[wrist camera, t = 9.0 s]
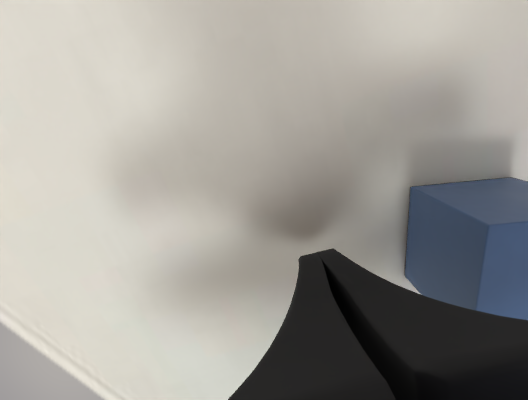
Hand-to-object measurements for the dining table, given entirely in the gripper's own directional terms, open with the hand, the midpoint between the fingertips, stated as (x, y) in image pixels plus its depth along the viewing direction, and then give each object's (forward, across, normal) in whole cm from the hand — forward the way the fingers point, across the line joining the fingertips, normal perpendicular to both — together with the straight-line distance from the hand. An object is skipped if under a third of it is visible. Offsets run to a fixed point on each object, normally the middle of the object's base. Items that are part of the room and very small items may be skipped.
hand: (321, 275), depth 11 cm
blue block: (+3, -7, +1) cm, 7 cm away
